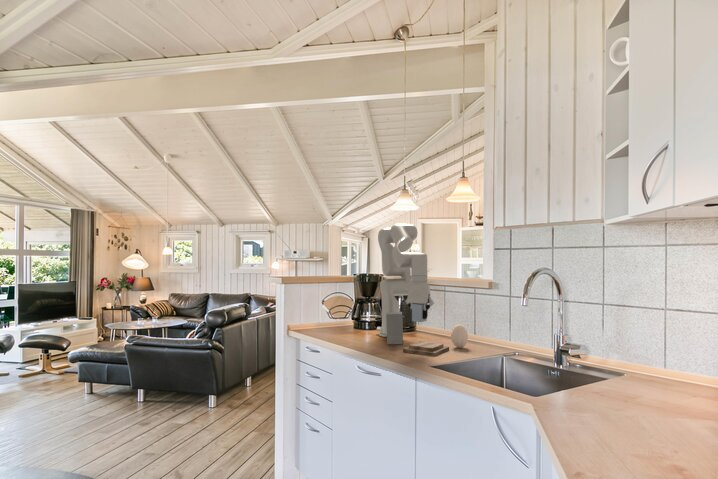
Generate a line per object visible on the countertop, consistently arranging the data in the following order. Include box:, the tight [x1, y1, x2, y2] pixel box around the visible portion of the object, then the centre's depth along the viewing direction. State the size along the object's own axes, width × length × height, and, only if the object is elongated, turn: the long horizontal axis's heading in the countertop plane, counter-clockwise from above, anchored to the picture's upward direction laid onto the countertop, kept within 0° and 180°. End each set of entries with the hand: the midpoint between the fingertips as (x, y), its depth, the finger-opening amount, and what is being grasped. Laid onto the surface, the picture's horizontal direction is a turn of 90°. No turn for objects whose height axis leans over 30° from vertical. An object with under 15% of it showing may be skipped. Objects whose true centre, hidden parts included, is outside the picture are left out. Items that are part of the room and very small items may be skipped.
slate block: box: [411, 304, 428, 323], centre depth 207 cm, size 5×5×8 cm
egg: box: [450, 323, 469, 349], centre depth 214 cm, size 8×8×11 cm
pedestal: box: [402, 340, 450, 357], centre depth 206 cm, size 16×16×3 cm
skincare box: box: [386, 311, 404, 345], centre depth 224 cm, size 8×7×16 cm
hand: (419, 317), depth 207 cm, fingers closed on slate block, 5 cm apart
